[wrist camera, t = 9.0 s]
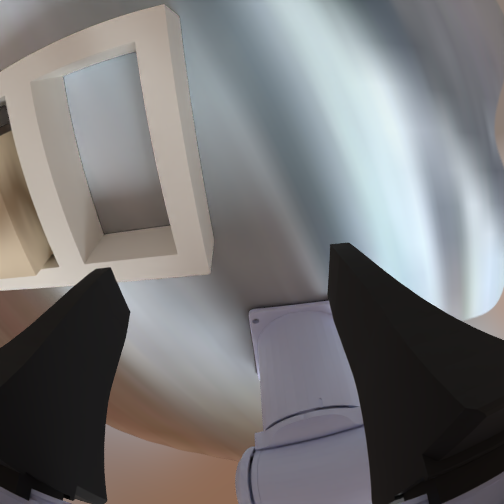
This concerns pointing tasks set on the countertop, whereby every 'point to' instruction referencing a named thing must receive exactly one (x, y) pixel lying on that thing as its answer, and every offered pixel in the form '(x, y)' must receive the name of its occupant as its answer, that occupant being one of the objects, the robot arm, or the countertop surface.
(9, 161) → the beige boxy piece
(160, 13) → the white open frame
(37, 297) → the countertop surface
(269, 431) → the robot arm
